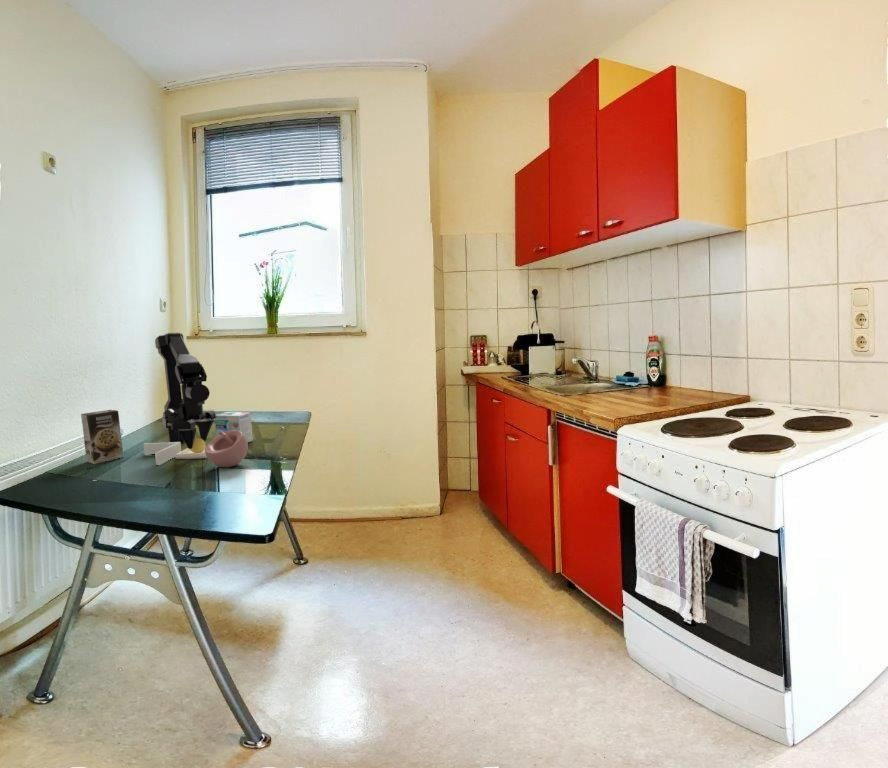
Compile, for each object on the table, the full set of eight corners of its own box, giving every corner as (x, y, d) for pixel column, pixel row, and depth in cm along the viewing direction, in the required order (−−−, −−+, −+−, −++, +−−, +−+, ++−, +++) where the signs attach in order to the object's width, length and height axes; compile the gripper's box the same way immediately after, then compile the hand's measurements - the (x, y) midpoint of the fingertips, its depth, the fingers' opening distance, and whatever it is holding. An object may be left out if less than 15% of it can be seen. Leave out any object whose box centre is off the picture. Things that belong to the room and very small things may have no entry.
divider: (146, 454, 177) (144, 443, 176) (182, 453, 177) (181, 441, 176) (119, 467, 163) (117, 454, 162) (158, 465, 162) (157, 453, 162)
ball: (194, 451, 177) (192, 436, 176) (208, 450, 177) (207, 436, 176) (186, 455, 172) (185, 440, 171) (202, 454, 172) (200, 439, 171)
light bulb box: (216, 444, 188) (213, 414, 187) (229, 439, 195) (226, 411, 193) (241, 445, 185) (238, 415, 184) (253, 440, 192) (251, 411, 190)
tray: (190, 451, 179) (190, 446, 179) (219, 450, 179) (219, 445, 179) (175, 459, 169) (175, 454, 169) (206, 458, 169) (205, 453, 169)
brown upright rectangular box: (93, 464, 167) (87, 415, 165) (86, 461, 171) (79, 413, 169) (124, 457, 174) (118, 410, 172) (116, 455, 178) (110, 408, 176)
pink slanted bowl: (198, 470, 156) (194, 432, 154) (231, 459, 166) (227, 424, 165) (225, 474, 150) (221, 435, 148) (258, 463, 160) (254, 426, 159)
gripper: (182, 395, 181) (187, 439, 183) (152, 405, 163) (157, 453, 165) (214, 394, 181) (218, 438, 183) (187, 403, 162) (192, 452, 164)
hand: (197, 445), depth 174 cm, fingers open, 9 cm apart
